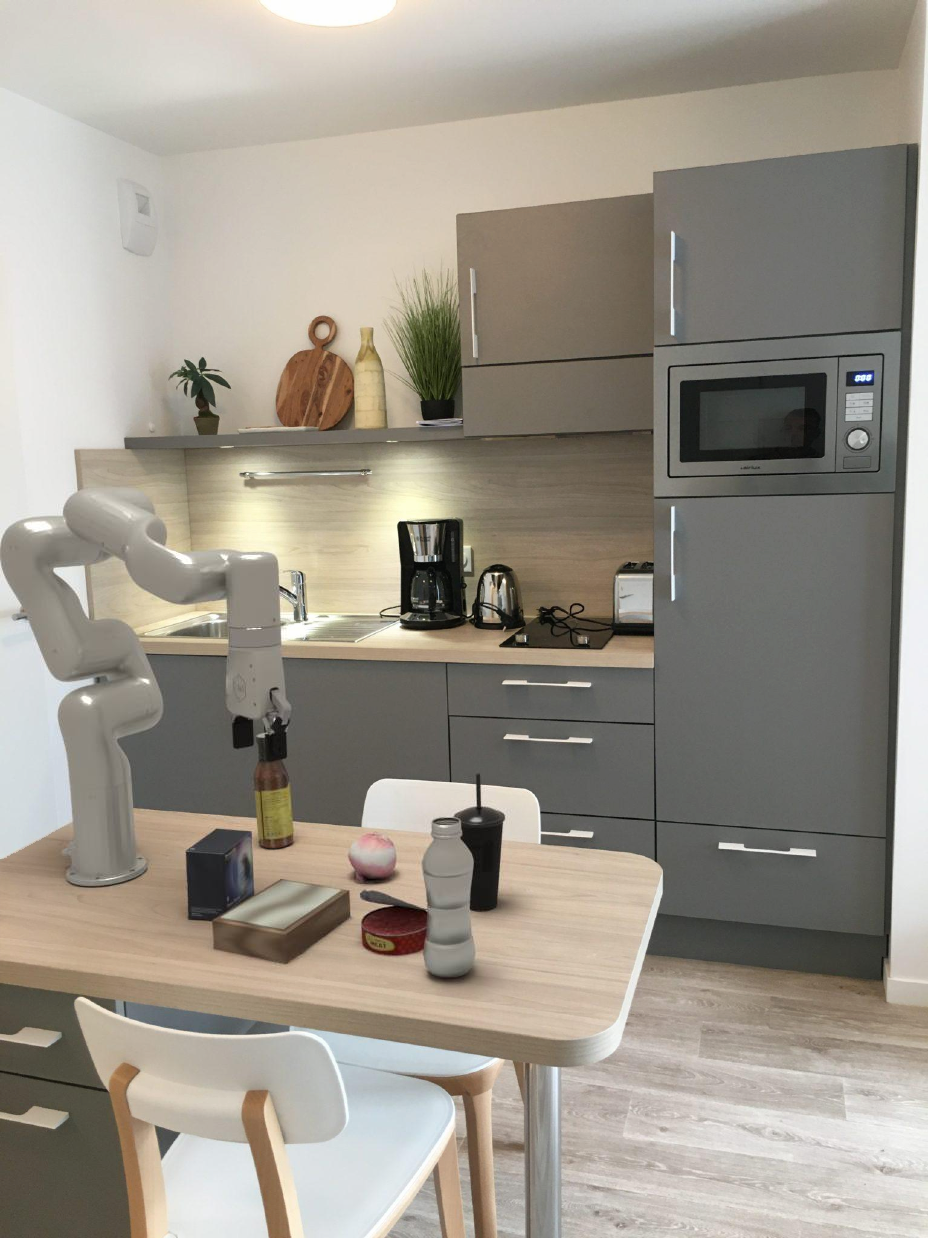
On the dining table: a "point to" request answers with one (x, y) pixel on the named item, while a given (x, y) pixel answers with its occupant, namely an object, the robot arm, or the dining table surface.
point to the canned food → (393, 926)
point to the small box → (219, 873)
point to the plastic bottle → (448, 901)
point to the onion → (372, 857)
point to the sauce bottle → (272, 801)
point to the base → (281, 920)
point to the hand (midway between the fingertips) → (259, 753)
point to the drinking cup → (483, 850)
